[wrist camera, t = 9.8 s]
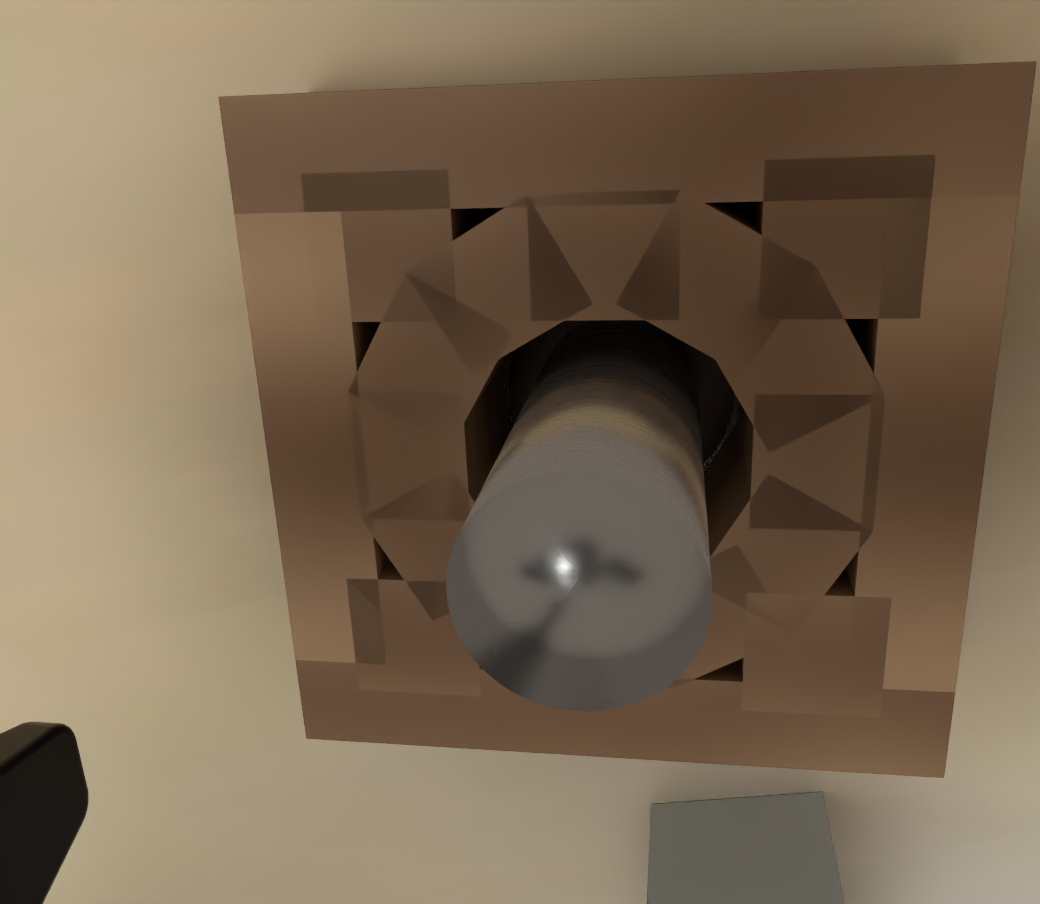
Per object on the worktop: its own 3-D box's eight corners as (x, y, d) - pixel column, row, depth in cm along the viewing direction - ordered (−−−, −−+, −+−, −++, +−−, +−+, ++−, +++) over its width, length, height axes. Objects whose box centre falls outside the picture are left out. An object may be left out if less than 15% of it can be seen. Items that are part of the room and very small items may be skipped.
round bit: (696, 466, 21) (708, 718, 12) (542, 463, 21) (453, 703, 13) (699, 314, 20) (716, 475, 11) (538, 314, 20) (437, 468, 12)
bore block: (899, 657, 22) (944, 777, 18) (365, 633, 23) (306, 738, 20) (961, 64, 17) (1036, 61, 14) (307, 92, 19) (218, 96, 16)
